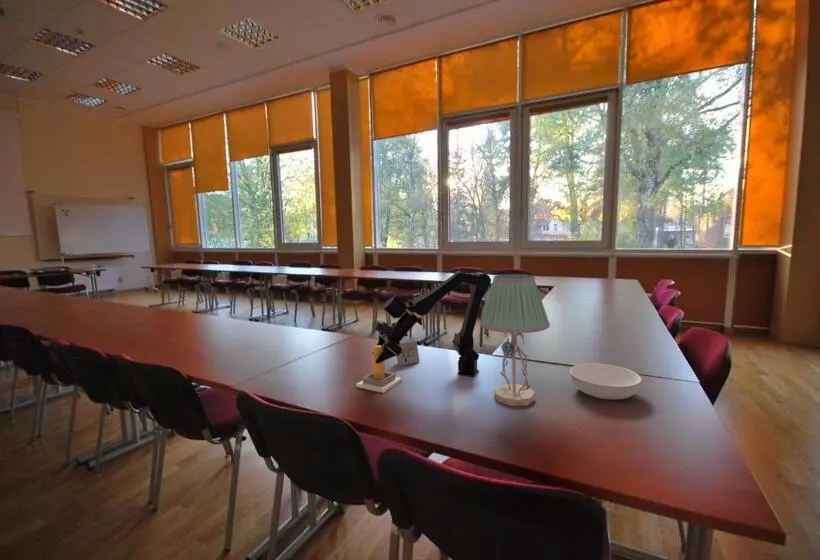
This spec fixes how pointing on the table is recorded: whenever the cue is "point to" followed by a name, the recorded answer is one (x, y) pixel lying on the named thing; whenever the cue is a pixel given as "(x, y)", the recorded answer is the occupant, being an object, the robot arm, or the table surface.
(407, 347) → the electrical switch
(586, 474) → the table surface
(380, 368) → the orange bottle
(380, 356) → the robot arm
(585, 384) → the serving bowl
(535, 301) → the table lamp
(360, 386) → the plate
